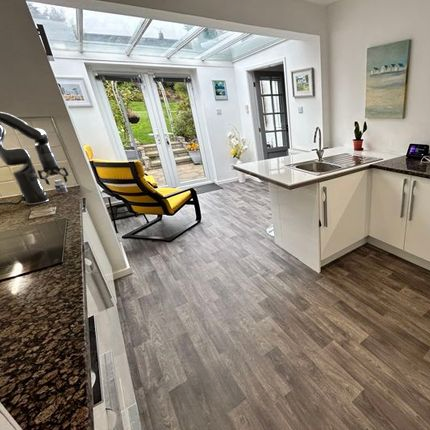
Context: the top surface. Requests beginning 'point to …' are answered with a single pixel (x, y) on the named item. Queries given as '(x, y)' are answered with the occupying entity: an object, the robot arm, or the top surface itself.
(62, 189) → the pill bottle
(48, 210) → the drawing board
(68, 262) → the top surface
